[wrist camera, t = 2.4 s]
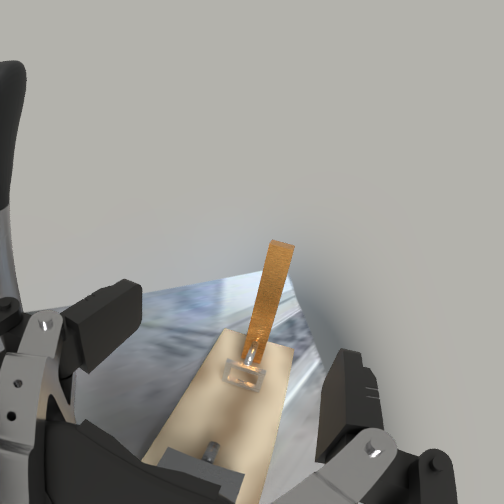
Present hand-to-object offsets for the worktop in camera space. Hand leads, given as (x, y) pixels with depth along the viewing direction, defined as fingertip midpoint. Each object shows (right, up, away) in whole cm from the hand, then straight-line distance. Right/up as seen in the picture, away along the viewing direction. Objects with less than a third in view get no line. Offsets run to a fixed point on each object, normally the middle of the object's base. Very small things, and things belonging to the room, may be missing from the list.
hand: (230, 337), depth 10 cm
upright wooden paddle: (+1, -10, +22) cm, 24 cm away
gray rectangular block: (-3, -15, +6) cm, 16 cm away
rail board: (-2, -14, +15) cm, 21 cm away
